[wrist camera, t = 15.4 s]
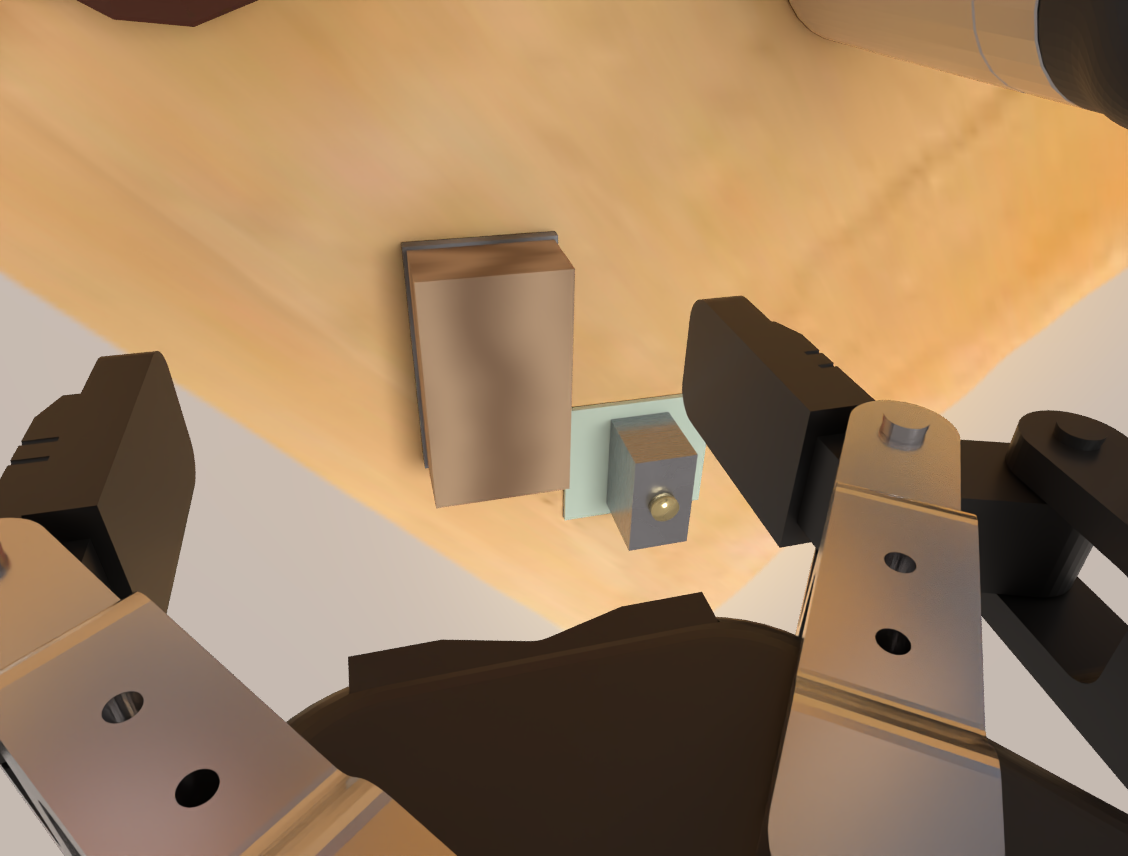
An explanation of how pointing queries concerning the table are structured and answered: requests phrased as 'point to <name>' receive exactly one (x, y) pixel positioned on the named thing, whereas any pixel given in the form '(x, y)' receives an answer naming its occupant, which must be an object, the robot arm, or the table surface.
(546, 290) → the body
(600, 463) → the mat
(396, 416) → the table surface
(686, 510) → the block with brass knob
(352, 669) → the robot arm
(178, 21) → the muffin
